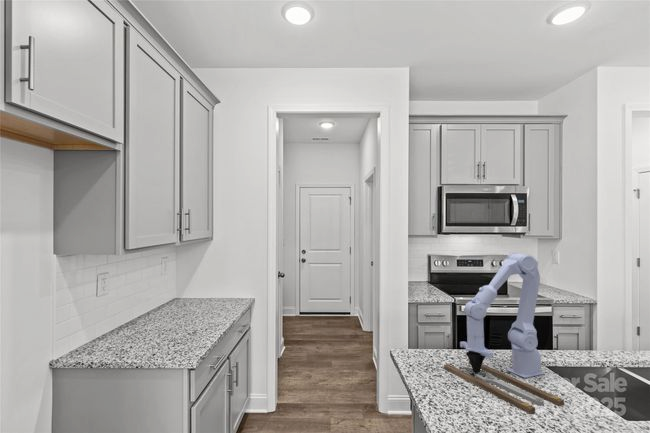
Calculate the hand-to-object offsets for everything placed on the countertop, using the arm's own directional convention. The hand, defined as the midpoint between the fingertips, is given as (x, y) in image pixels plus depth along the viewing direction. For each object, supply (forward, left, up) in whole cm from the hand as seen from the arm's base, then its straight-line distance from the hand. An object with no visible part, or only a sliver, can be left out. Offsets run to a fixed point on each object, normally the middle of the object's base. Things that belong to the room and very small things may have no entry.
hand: (476, 372), depth 137 cm
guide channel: (0, +10, -1) cm, 10 cm away
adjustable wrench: (0, +13, -1) cm, 13 cm away
